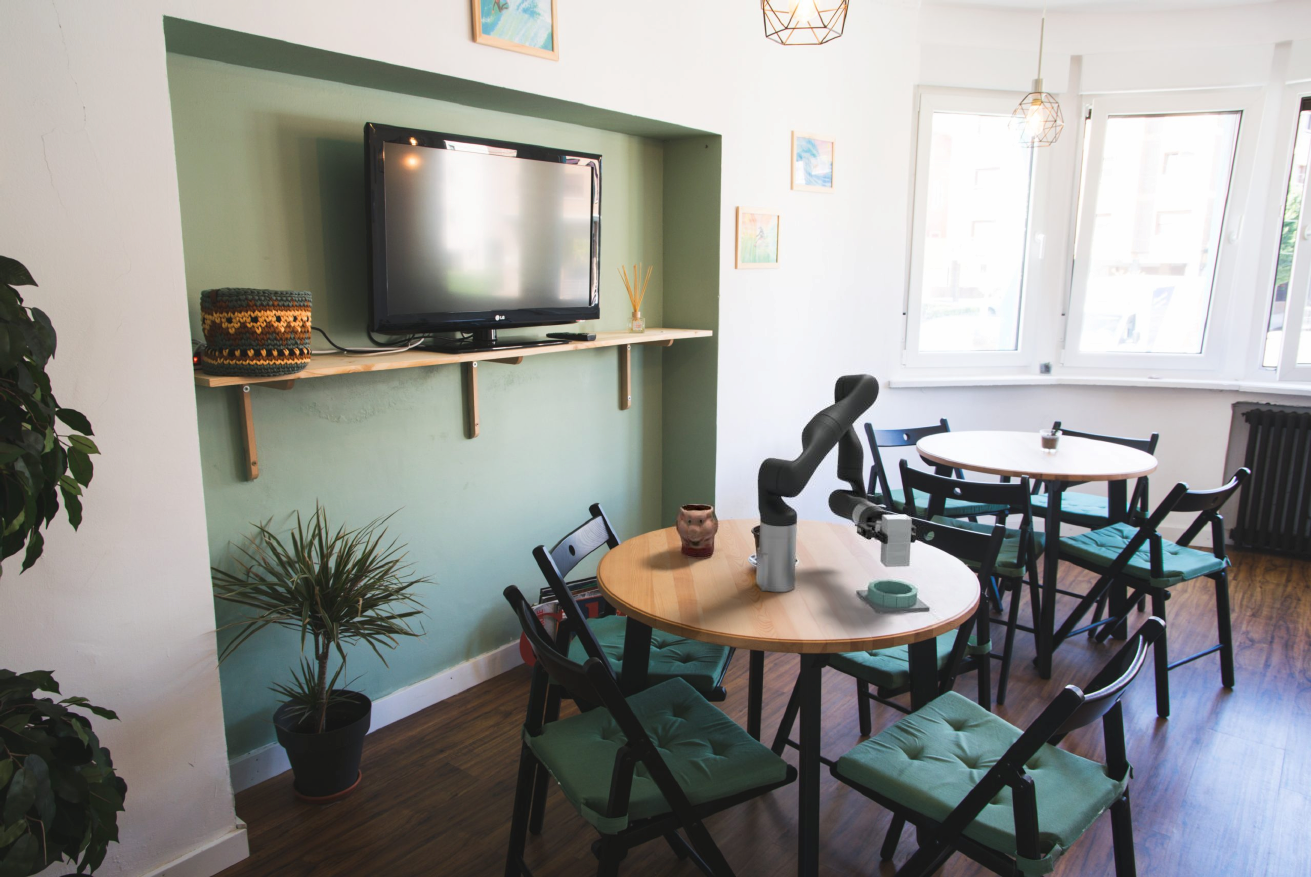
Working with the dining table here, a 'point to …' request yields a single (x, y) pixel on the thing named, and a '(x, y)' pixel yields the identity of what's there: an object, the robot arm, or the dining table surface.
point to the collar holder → (892, 597)
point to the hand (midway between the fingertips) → (900, 539)
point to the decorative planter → (697, 530)
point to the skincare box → (896, 540)
